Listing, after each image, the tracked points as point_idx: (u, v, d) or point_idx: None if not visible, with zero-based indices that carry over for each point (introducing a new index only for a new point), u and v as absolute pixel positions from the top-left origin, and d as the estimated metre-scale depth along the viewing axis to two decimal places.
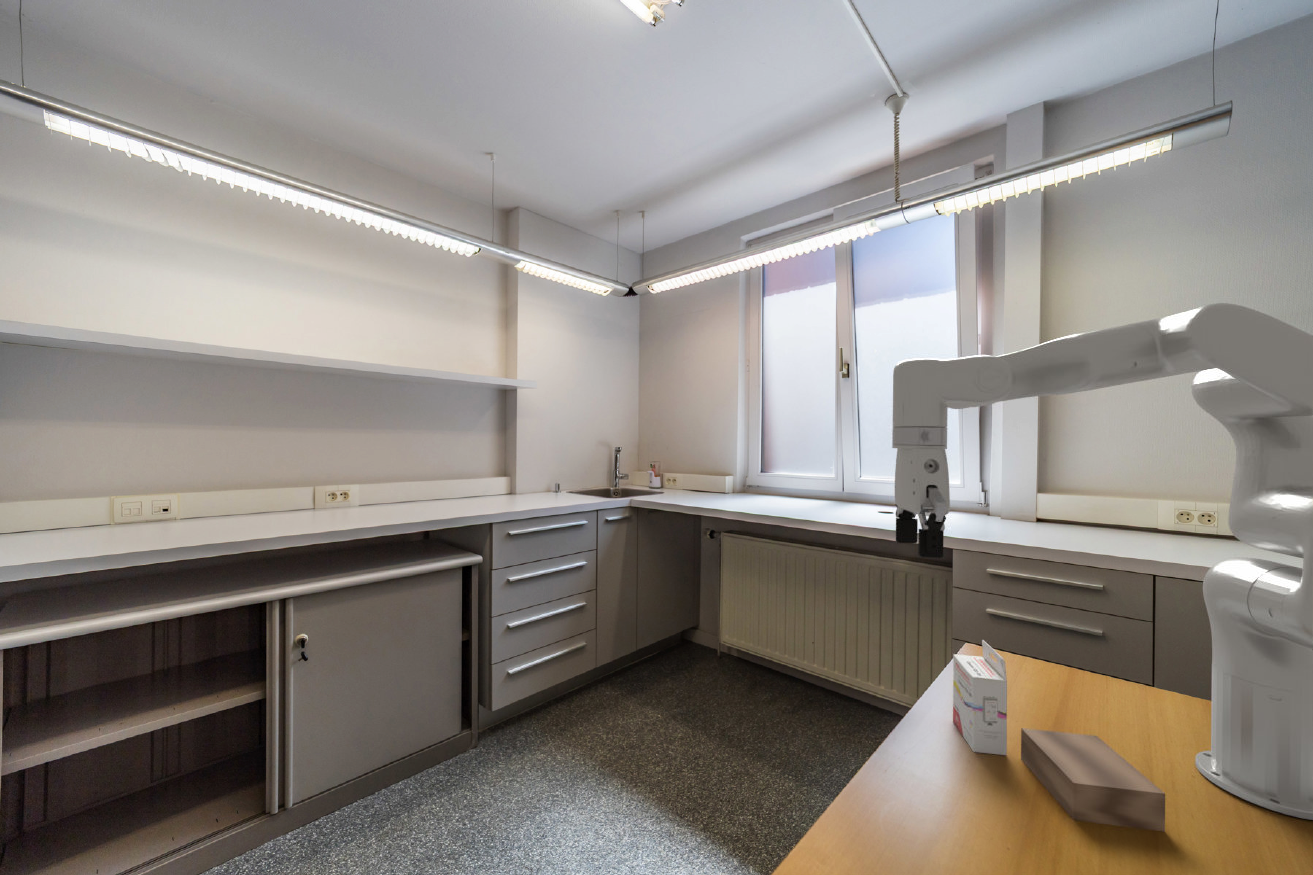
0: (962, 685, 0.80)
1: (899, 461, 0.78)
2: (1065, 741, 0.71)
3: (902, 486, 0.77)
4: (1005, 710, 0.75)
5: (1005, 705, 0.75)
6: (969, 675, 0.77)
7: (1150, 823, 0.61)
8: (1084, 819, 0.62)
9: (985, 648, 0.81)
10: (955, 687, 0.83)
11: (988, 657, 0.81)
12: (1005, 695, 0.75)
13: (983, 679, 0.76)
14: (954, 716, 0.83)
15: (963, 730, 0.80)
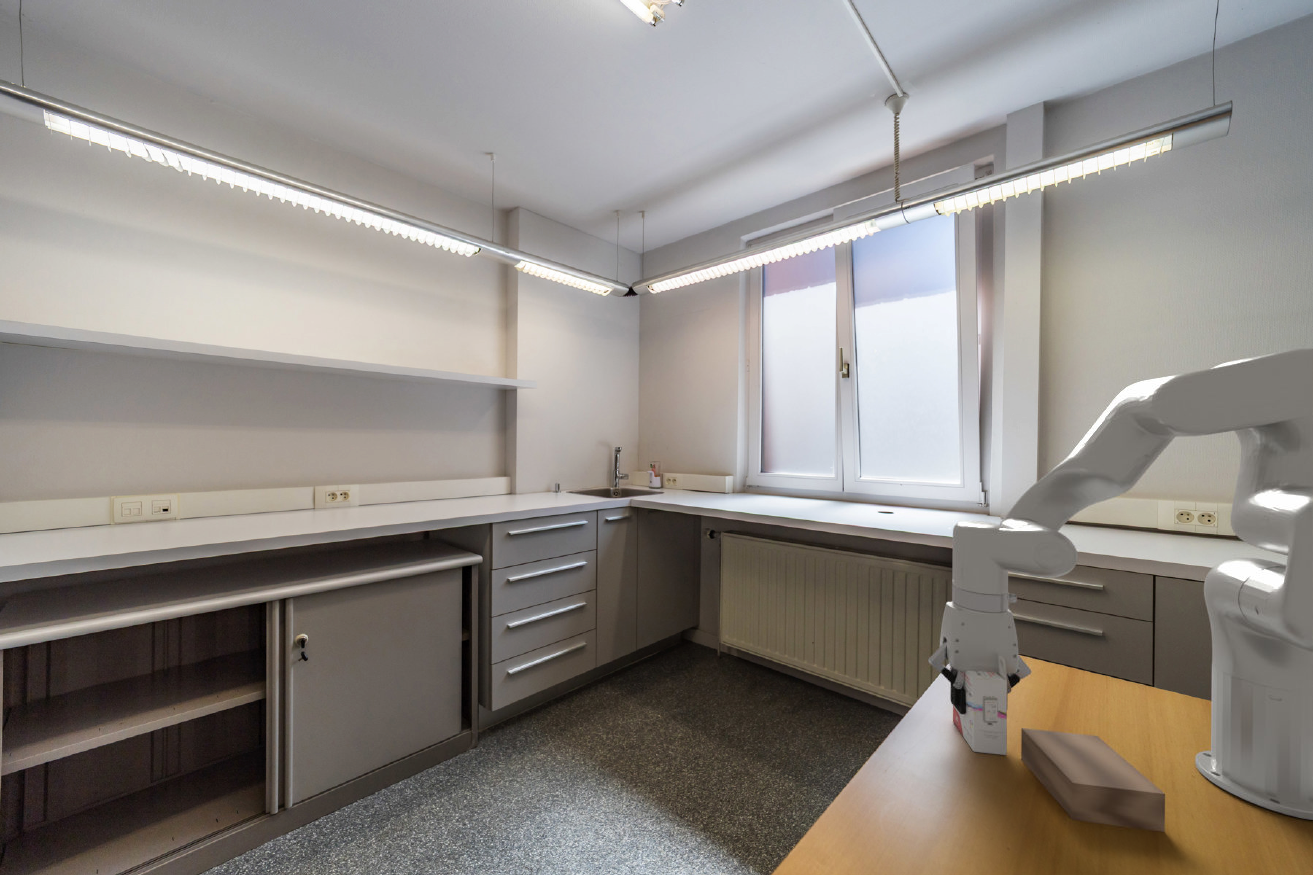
0: None
1: (979, 626, 0.77)
2: (1065, 741, 0.71)
3: (987, 651, 0.77)
4: (1005, 710, 0.75)
5: (1005, 705, 0.75)
6: (969, 675, 0.77)
7: (1150, 823, 0.61)
8: (1083, 819, 0.62)
9: None
10: None
11: None
12: (1005, 695, 0.75)
13: (983, 679, 0.76)
14: (954, 716, 0.83)
15: (963, 730, 0.80)
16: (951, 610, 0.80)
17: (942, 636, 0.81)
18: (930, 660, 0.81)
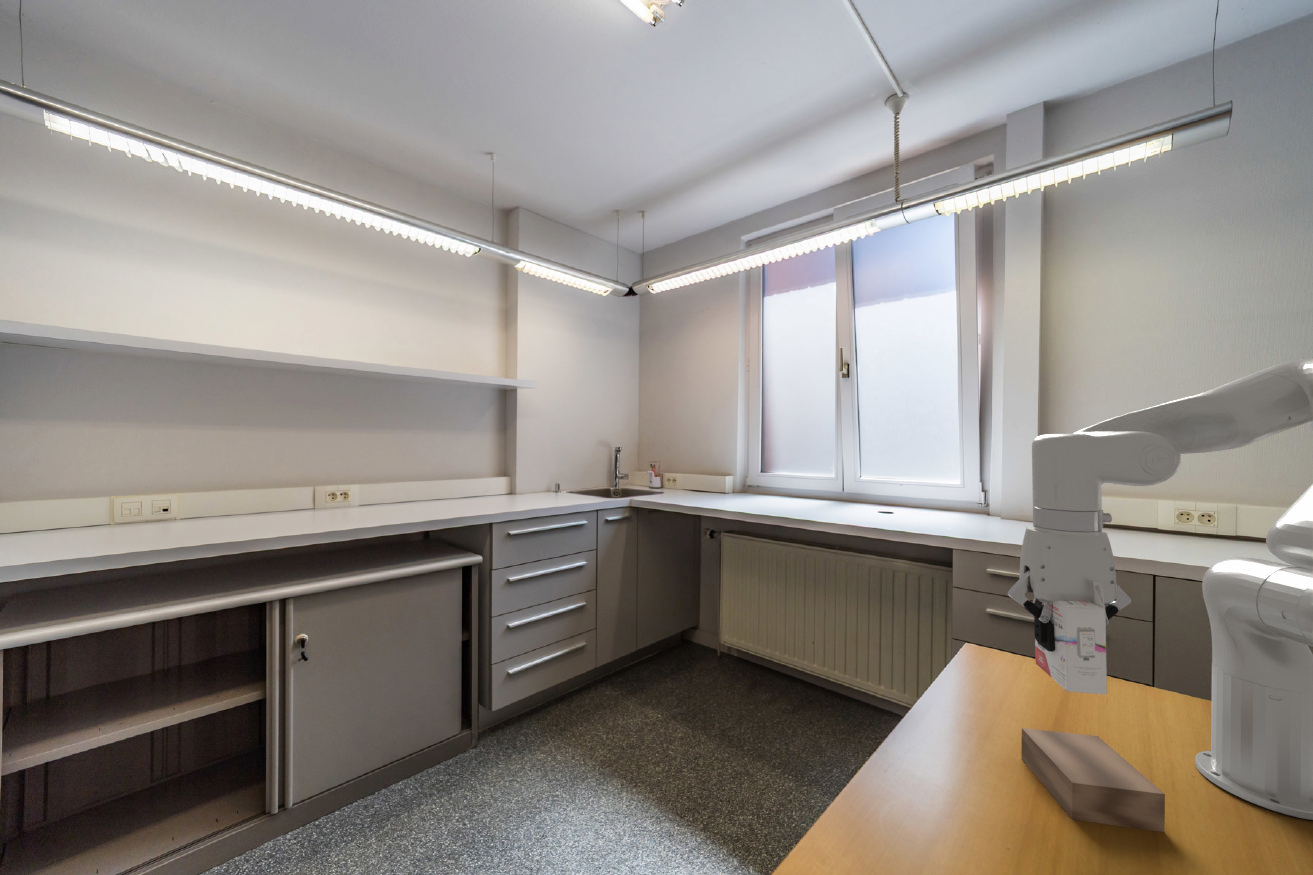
0: None
1: (1069, 549, 0.67)
2: (1066, 741, 0.71)
3: (1079, 577, 0.67)
4: (1104, 642, 0.65)
5: (1104, 637, 0.65)
6: (1059, 605, 0.67)
7: (1149, 823, 0.61)
8: (1083, 819, 0.62)
9: None
10: None
11: None
12: (1104, 625, 0.65)
13: (1077, 608, 0.66)
14: (1037, 657, 0.74)
15: (1050, 670, 0.70)
16: (1033, 534, 0.70)
17: (1023, 565, 0.72)
18: (1010, 592, 0.71)
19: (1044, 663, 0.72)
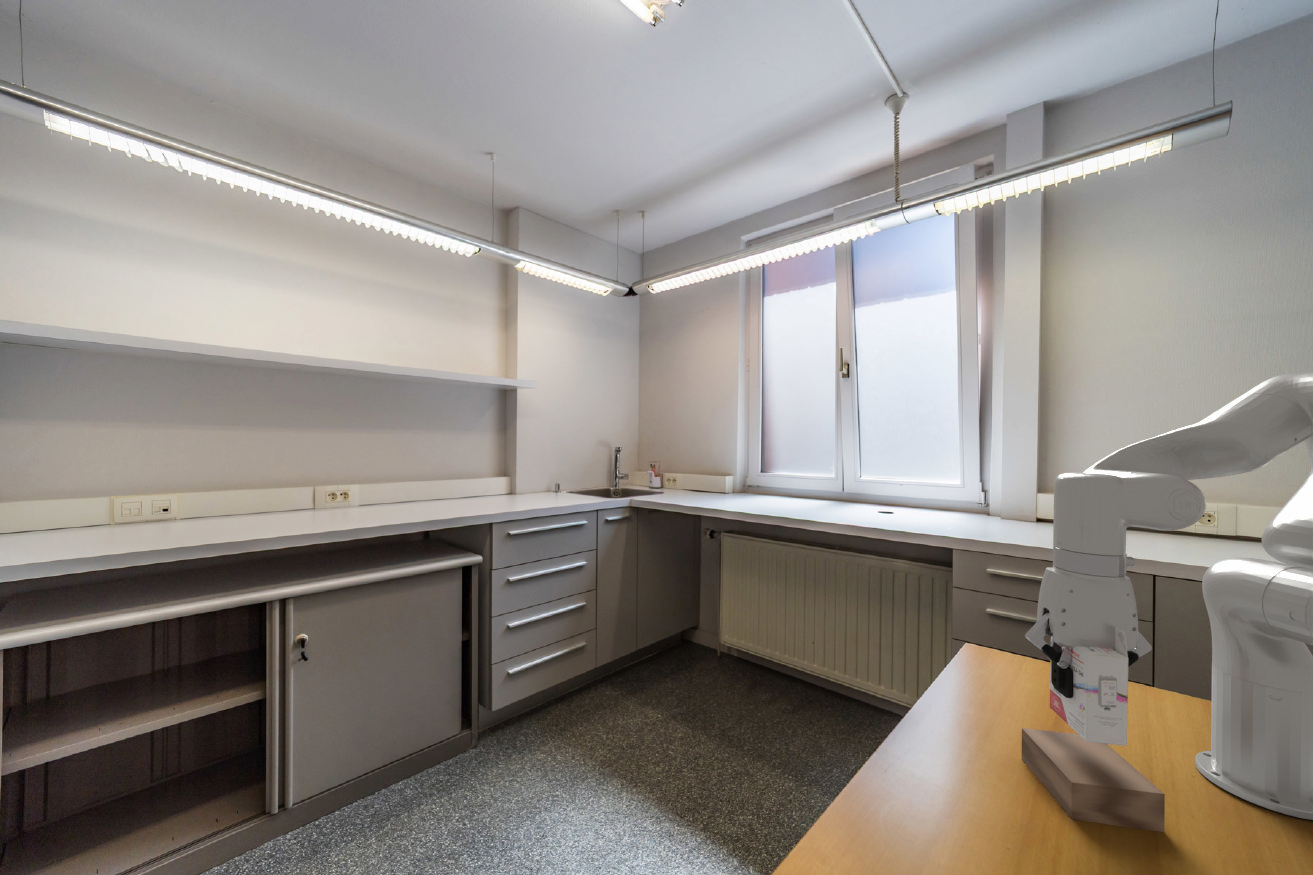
0: None
1: (1091, 593, 0.65)
2: (1066, 741, 0.71)
3: (1101, 623, 0.65)
4: (1126, 692, 0.63)
5: (1126, 686, 0.63)
6: (1080, 651, 0.65)
7: (1149, 823, 0.61)
8: (1082, 818, 0.62)
9: None
10: None
11: None
12: (1126, 674, 0.63)
13: (1099, 655, 0.64)
14: (1052, 701, 0.71)
15: (1067, 717, 0.68)
16: (1054, 576, 0.68)
17: (1041, 607, 0.69)
18: (1028, 635, 0.69)
19: (1060, 708, 0.69)
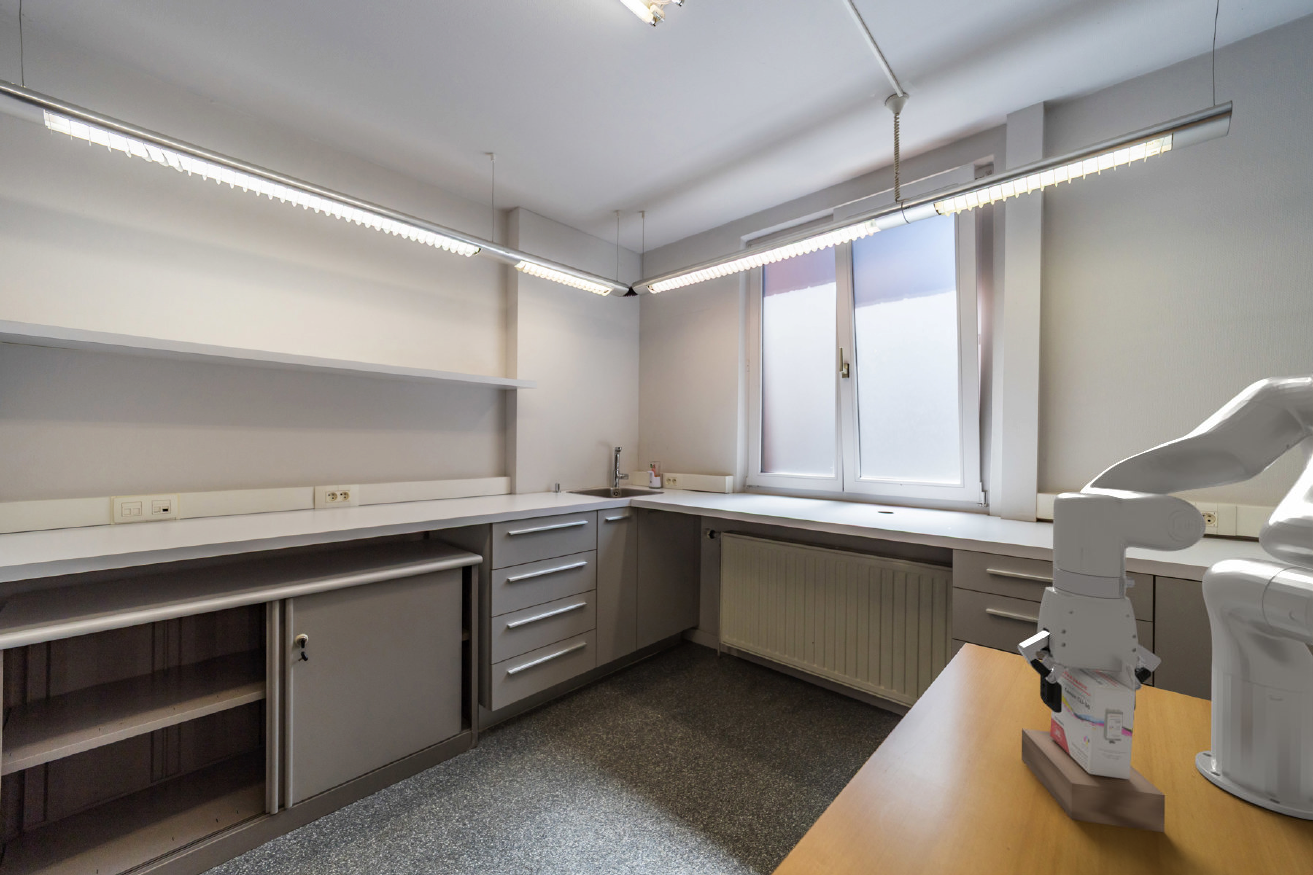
0: (1072, 695, 0.68)
1: (1091, 614, 0.65)
2: None
3: (1101, 644, 0.65)
4: (1131, 726, 0.63)
5: (1132, 720, 0.63)
6: (1087, 683, 0.65)
7: (1149, 824, 0.61)
8: (1082, 819, 0.62)
9: None
10: None
11: None
12: (1132, 708, 0.63)
13: (1107, 688, 0.64)
14: (1053, 730, 0.71)
15: (1069, 747, 0.68)
16: (1054, 597, 0.68)
17: (1041, 627, 0.69)
18: (1021, 646, 0.69)
19: (1061, 738, 0.69)
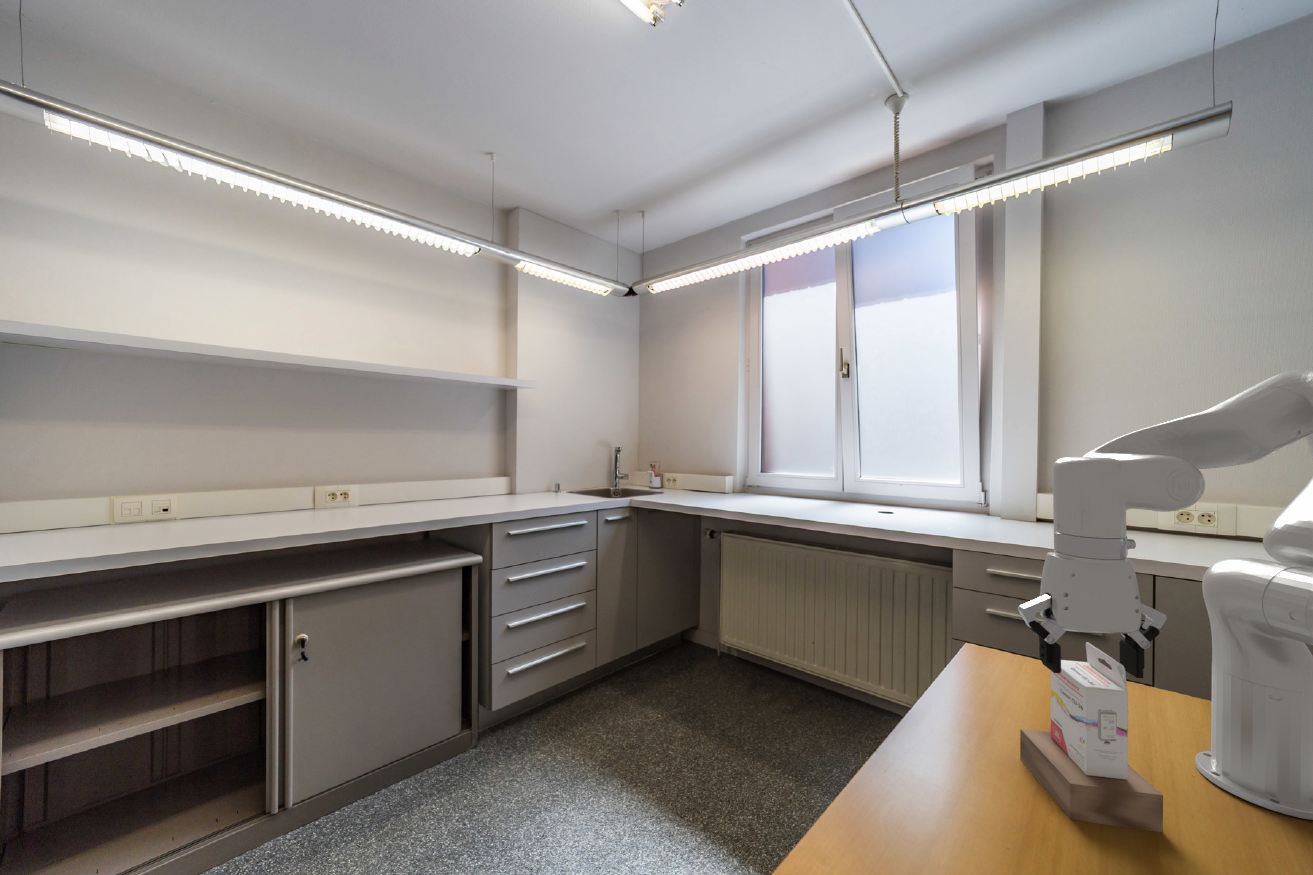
0: (1067, 696, 0.68)
1: (1093, 577, 0.65)
2: None
3: (1104, 606, 0.65)
4: (1126, 726, 0.63)
5: (1126, 720, 0.63)
6: (1079, 684, 0.65)
7: (1148, 824, 0.61)
8: (1081, 820, 0.62)
9: (1091, 652, 0.70)
10: (1054, 697, 0.71)
11: (1096, 663, 0.69)
12: (1126, 708, 0.63)
13: (1099, 689, 0.64)
14: (1053, 731, 0.71)
15: (1067, 748, 0.68)
16: (1055, 561, 0.68)
17: (1044, 592, 0.69)
18: (1021, 607, 0.69)
19: (1060, 739, 0.70)
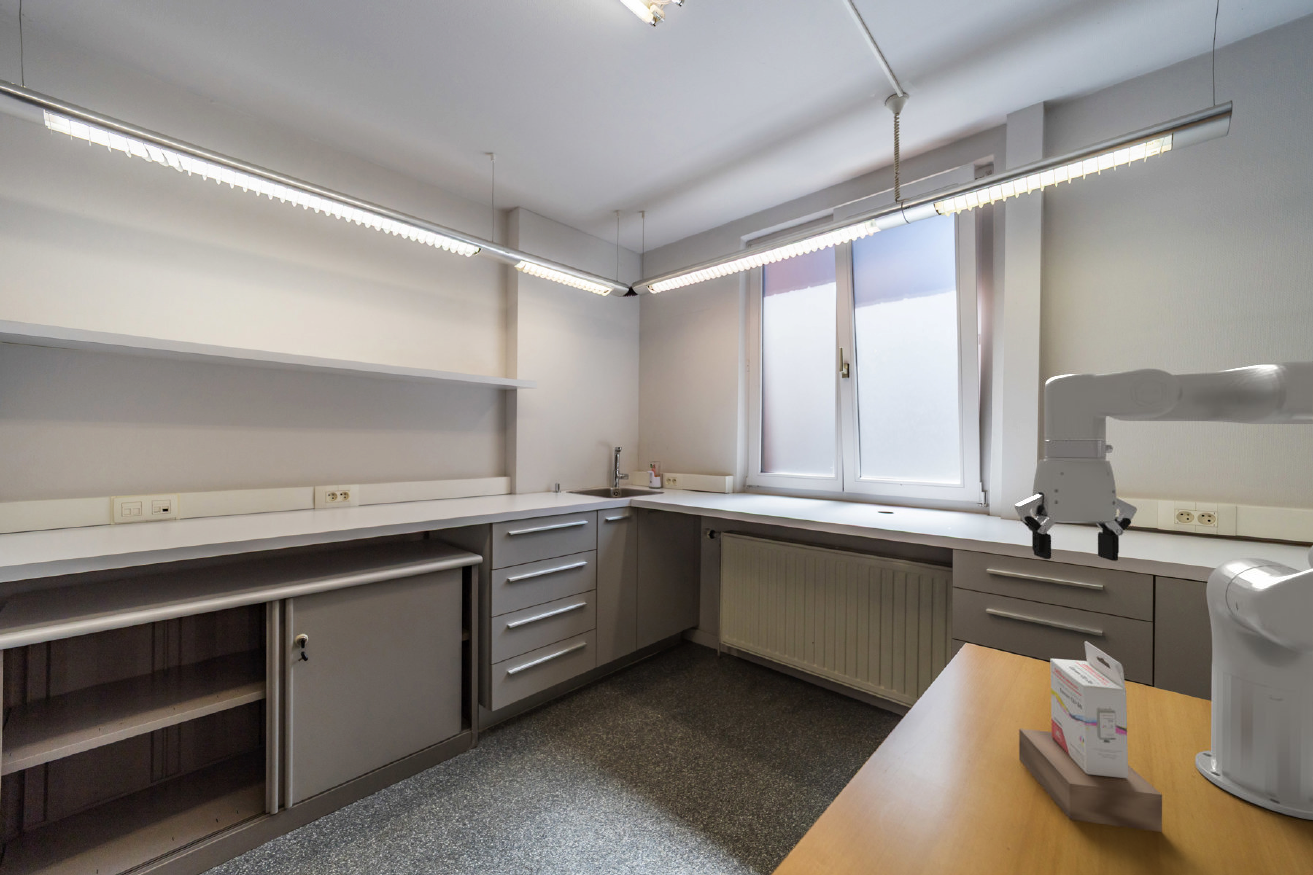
0: (1066, 695, 0.68)
1: (1078, 474, 0.77)
2: None
3: (1087, 499, 0.77)
4: (1125, 724, 0.63)
5: (1125, 718, 0.63)
6: (1077, 683, 0.65)
7: (1147, 824, 0.61)
8: (1080, 819, 0.62)
9: (1090, 650, 0.70)
10: (1054, 697, 0.71)
11: (1095, 661, 0.69)
12: (1124, 706, 0.63)
13: (1097, 688, 0.64)
14: (1054, 731, 0.72)
15: (1068, 748, 0.68)
16: (1047, 464, 0.79)
17: (1036, 493, 0.81)
18: (1018, 505, 0.80)
19: (1061, 739, 0.70)
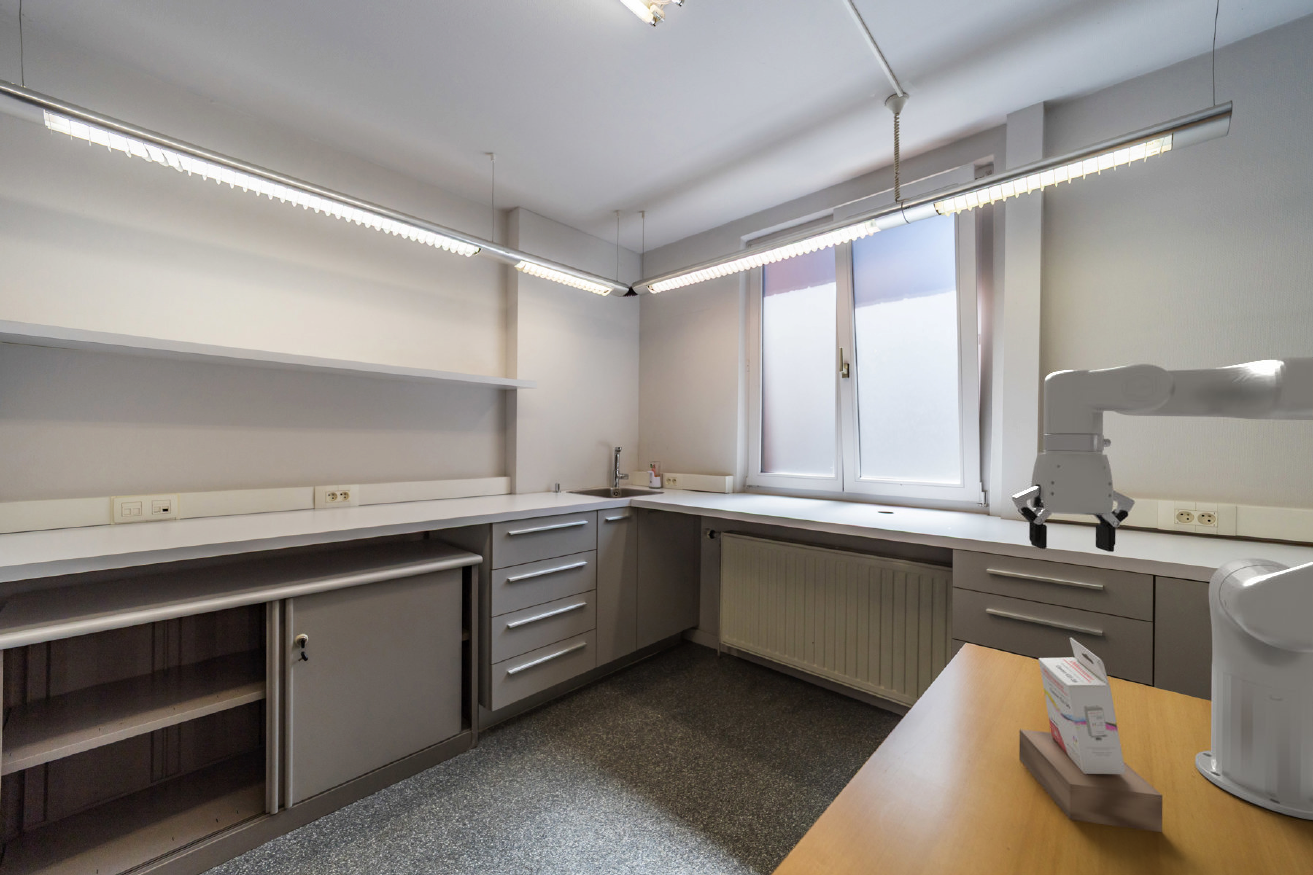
0: (1056, 695, 0.68)
1: (1074, 467, 0.79)
2: None
3: (1083, 491, 0.79)
4: (1114, 720, 0.63)
5: (1113, 714, 0.64)
6: (1062, 683, 0.66)
7: (1147, 825, 0.61)
8: (1080, 820, 0.62)
9: (1075, 647, 0.70)
10: (1047, 697, 0.71)
11: (1081, 658, 0.69)
12: (1111, 702, 0.64)
13: (1081, 686, 0.64)
14: (1052, 730, 0.72)
15: (1066, 747, 0.68)
16: (1044, 457, 0.82)
17: (1034, 485, 0.83)
18: (1015, 496, 0.83)
19: (1059, 738, 0.70)
